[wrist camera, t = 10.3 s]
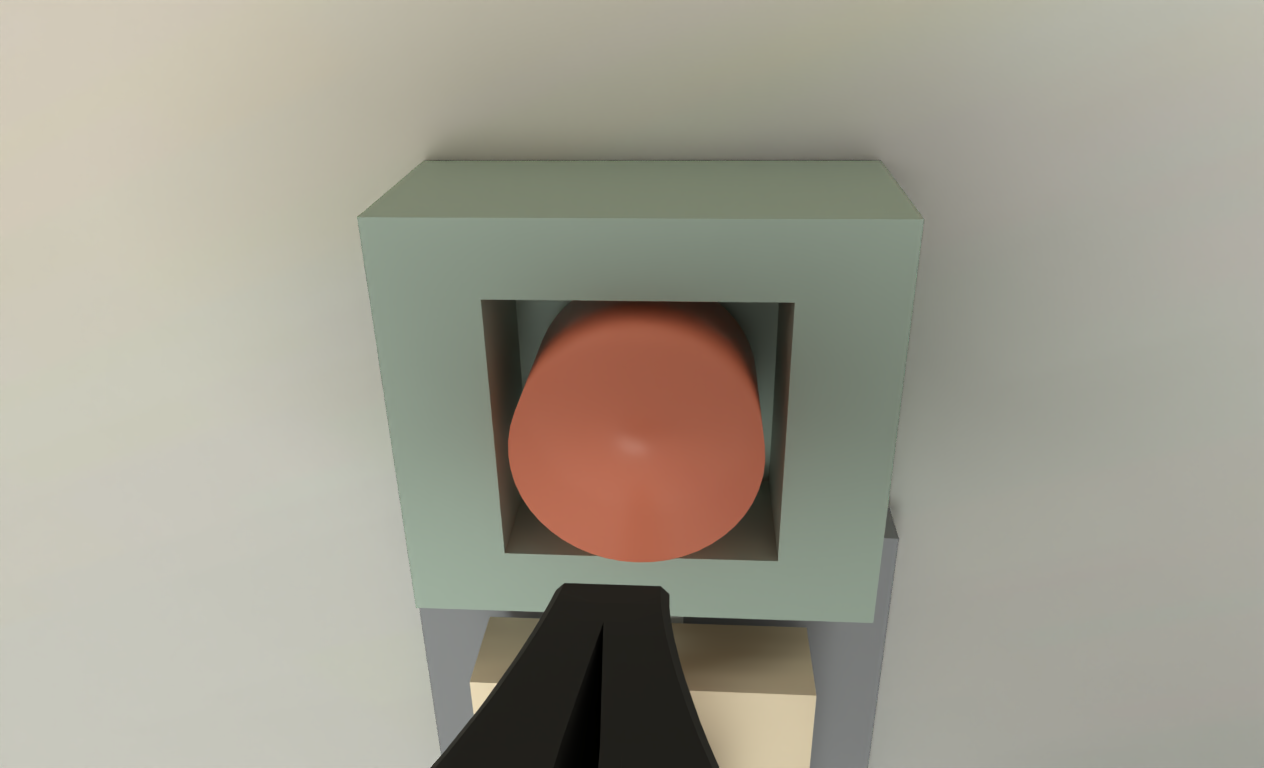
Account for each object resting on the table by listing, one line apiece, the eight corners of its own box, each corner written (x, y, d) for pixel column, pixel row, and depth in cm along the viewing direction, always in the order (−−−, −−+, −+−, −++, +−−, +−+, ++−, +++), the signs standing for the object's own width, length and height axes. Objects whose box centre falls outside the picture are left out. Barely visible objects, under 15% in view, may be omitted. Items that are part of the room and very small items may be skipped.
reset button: (761, 277, 17) (771, 341, 15) (751, 477, 19) (759, 566, 17) (528, 275, 18) (498, 338, 15) (542, 472, 20) (517, 558, 17)
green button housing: (880, 160, 18) (923, 219, 14) (845, 506, 22) (873, 622, 18) (423, 160, 19) (357, 217, 15) (462, 497, 22) (415, 607, 19)
